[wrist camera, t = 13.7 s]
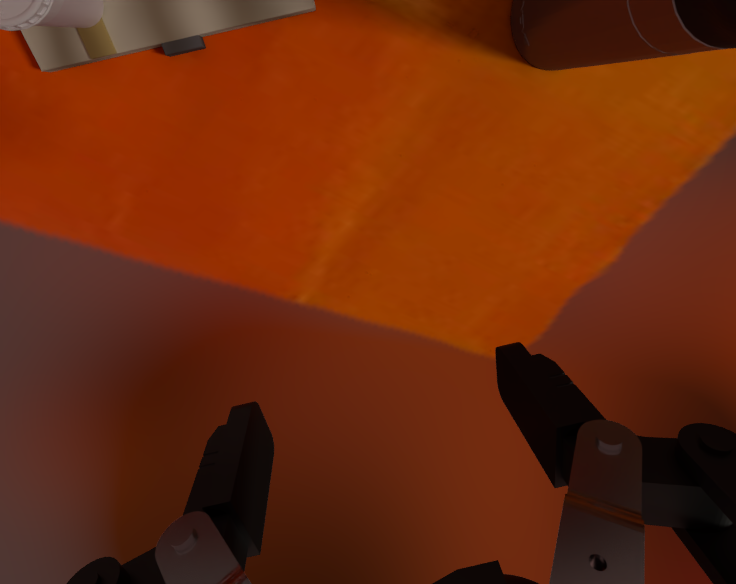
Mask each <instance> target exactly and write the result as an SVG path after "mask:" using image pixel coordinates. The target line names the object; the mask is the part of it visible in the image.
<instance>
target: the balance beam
mask: <svg viewBox="0 0 736 584" xmlns="http://www.w3.org/2000/svg"><path fill="white" fill-rule="evenodd" d="M103 5H104V9H103V15H102V17H101V19H100V21H99V22H98V23H97V24H96V25H94V26H92V27H89V28H73V27H52V26H32V27H30V28H28V29H24V30H21V32H22V34H23V36H24V38H25V40H26V42H27V44H28V45H29V47H30V49H31V51H32V53H33V55H34V57H35V59H36V61H37V63H38V65H39V67H40V69H41V71H45V72H54V71H58V70H62V69H67V68H71V67H75V66H80V65H84V64H88V63H92V62H97V61H101V60H105V59H110V58H114V57H118V56H123V55H127V54H131V53H135V52H140V51H144V50H148V49H153V48H157V47H161V46H162V47H163V50H164V52H165V55H167V56H170V57H171V56H175V55H179V54H183V53H188V52H192V51H196V50H201V49H205V48H206V47H205V44H204V41H203V38H202V37H204V36H209V35H213V34H217V33H221V32H226V31H230V30H234V29H239V28H243V27H247V26H252V25H256V24H260V23H264V22H269V21H273V20H277V19H282V18H286V17H290V16H295V15H299V14H303V13H307V12H312V11H316V7H315V3H314V0H103Z"/></svg>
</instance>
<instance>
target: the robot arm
mask: <svg viewBox="0 0 736 584" xmlns="http://www.w3.org/2000/svg"><path fill="white" fill-rule="evenodd" d="M511 27H512V35H513V38H514V41H515V44H516V47H517V48H518V50H519V52H520V54H521V55H522V56H523V57H524V58H525V60H526V61H527V62H528V63H530V64H531V65H533V66H535V67H536V68H539V69H543V70H563V69H571V68H581V67H589V66H597V65H605V64H612V63H620V62H628V61H636V60H644V59H651V58H659V57H667V56H675V55H683V54H691V53H696V52H704V51H712V50H720V49H728V48H736V0H513V5H512V11H511ZM496 369H497V383H498V389H499V392H500V395H501V398H502V400H503V402H504V404H505V405H506V407H507V409H508V410H509V412H510V414H511V416H512V417H513V419H514V420H515V422H516V424H517V426H518V427H519V429H520V430H521V432H522V434H523V436H524V437H525V439H526V441H527V442H528V444H529V446H530V447H531V449H532V451H533V453H534V454H535V456H536V458H537V459H538V461H539V462H540V464H541V466H542V468H543V469H544V471H545V473H546V474H547V476H548V478H549V479H550V481H551V483H552V484H553V486H554V488H558V487H562V486H567V485H568V492H567V494H565V498H564V503H563V510H562V515H561V520H560V526H559V532H558V538H557V543H556V549H555V554H554V560H553V566H552V571H551V577H550V584H644V541H645V537H644V536H645V530H644V524H647V525H656V526H667V527H672V529H673V530H674V532H675V533H676V534H677V536H678V537H679V538H680V540H681V541H682V542H683V544H684V545H685V546H686V548H687V549H688V550H689V552H690V553H691V554H692V556H693V557H694V558H695V560H696V561H697V563H698V564H699V565H700V567H701V568H702V569H703V570H704V572H705V573H706V575H707V576H708V577H709V579H710V580H711V581H712V583H713V584H736V434H735V433H734V432H732V431H730V430H727V429H725V428H723V427H719V426H716V425H712V424H704V423H695V424H690V425H687V426H684V427H683V428H682V429H681V430H680V431H679V434H678V438H654V437H642V436H637V435H635V433H633V432H632V431H631V430H630V429H628V428H627V427H625V426H623V425H621V424H619V423H616V422H613V421H608V420H606V419H605V418H604V417H603V416H602V415H601V414H600V412H599V411H598V410H597V409H596V408H595V407H594V406H593V404H592V403H591V402H590V401H589V400H588V399H587V398H586V397H585V395H584V394H583V393H582V392H581V391H580V390H579V389H578V387H577V386H576V385H574V384H573V382H572V381H571V380H570V378H569V377H568V376H567V375H565V373H564V371H563V370H562V369H561V368H560V367H559V366H558V365H557V364H556V362H554V361H552V360H551V359H549V358H547V357H545V356H544V355H542V354H536V355H532V356H531V354H529V352H528V351H527V350H526V348H525V347H524V346H523V345H522V344H521V343H520V342H517V343H512V344H508V345H503V346H499V347H496ZM203 456H204V457H202V460H201V463H200V466H199V467H200V469H198V472H197V475H196V478H195V481H194V484H193V487H192V490H191V493H190V495H189V498H188V502H187V505H186V507H185V510H184V513H183V516H181V517H180V518H178V519H177V520H175V521H174V522H173V523H172V524H171V525H170V526H169V527H168V528H167V529H166V530H165V531H164V533H163V534H162V535H161V537H160V539H159V541H158V543H157V546H156V547H155V548H153V549H151V550H150V551H148V552H146V553H144V554H142V555H140V556H138V557H136V558H134V559H133V560H131V561H129V562H127V563H125V564H123V565H121V564H120V563H119V562H118V561H117V560H116V559H115V558H112V557H103V558H99V559H97V560H95V561H93V562H91V563H89V564H87V565H86V566H85V567H83V568H82V569H80V570H79V571H78V572H77V573H76V574H75V575H74V576H73V577H72V578H71V579H70V580H69V581H68V583H67V584H251V583H250V581H249V579H248V578H247V576H246V575H245V573H244V570H245V564H246V558H247V557H251V556H255V555H260V552H261V545H262V538H263V530H264V523H265V515H266V508H267V501H268V493H269V485H270V479H271V472H272V464H273V457H274V442H273V437H272V434H271V432H270V430H269V427H268V425H267V423H266V420H265V418H264V416H263V413H262V411H261V409H260V407H259V405H258V403H257V402H250V403H246V404H242V405H238V406H233V407H232V408H231V411H230V414H229V417H228V421H227V424H226V425H221V426H218V428H217V429H216V430H215V432H214V433H213V434H212V436H211V437H210V438H209V440H208V442H207V445H206V448H205V451H204V454H203ZM433 584H538V583H536V582H534V581H532V580H529V579H526V578H523V577H519V576H514V575H507V574H503V573H502V570H501V567H500V565H499V562H498V560H497V561H493V562H488V563H484V564H480V565H475V566H471V567H467V568H462V569H458V570H456V571H454V572H452V573H450V574H449V575H447V576H445V577H443V578H442V579H440V580H438V581H436V582H435V583H433Z"/></svg>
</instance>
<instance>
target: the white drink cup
mask: <svg viewBox="0 0 736 584" xmlns="http://www.w3.org/2000/svg"><path fill="white" fill-rule="evenodd" d="M103 9H104V5H103V0H0V29H3V30H9V31H15V30H24V29H28V28H30V27H32V26H52V27H73V28H89V27H92V26H94V25H96V24H97V23H98V22H99V21H100V19H101V17H102V15H103Z"/></svg>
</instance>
